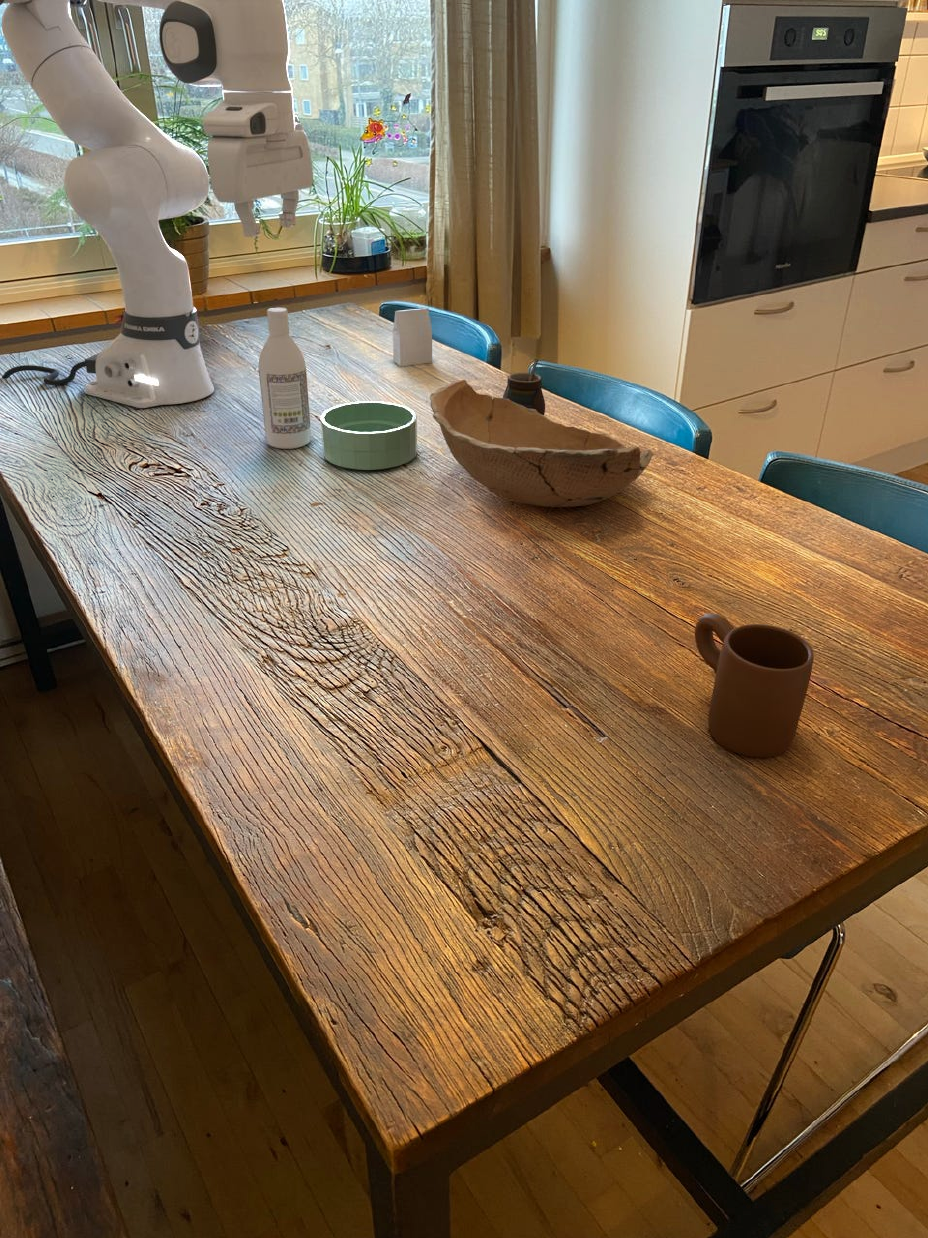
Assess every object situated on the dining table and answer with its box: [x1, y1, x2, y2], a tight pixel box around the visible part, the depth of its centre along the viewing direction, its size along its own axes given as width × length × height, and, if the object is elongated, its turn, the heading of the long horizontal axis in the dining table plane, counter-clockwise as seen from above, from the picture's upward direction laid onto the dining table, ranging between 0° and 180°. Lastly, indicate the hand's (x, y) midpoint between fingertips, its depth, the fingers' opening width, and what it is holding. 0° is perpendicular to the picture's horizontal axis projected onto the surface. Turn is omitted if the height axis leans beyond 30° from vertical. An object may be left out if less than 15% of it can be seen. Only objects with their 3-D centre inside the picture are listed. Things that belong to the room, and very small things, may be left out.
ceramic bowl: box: [429, 379, 655, 508], centre depth 124 cm, size 30×27×15 cm
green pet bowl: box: [319, 400, 418, 471], centre depth 136 cm, size 14×14×6 cm
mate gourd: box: [502, 358, 546, 416], centre depth 148 cm, size 7×8×10 cm
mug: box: [694, 612, 815, 759], centre depth 81 cm, size 12×8×9 cm, turn 30°
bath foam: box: [258, 307, 312, 450], centre depth 137 cm, size 7×7×20 cm
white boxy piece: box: [392, 307, 433, 367], centre depth 178 cm, size 4×7×10 cm, turn 115°
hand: (270, 231), depth 126 cm, fingers open, 8 cm apart
